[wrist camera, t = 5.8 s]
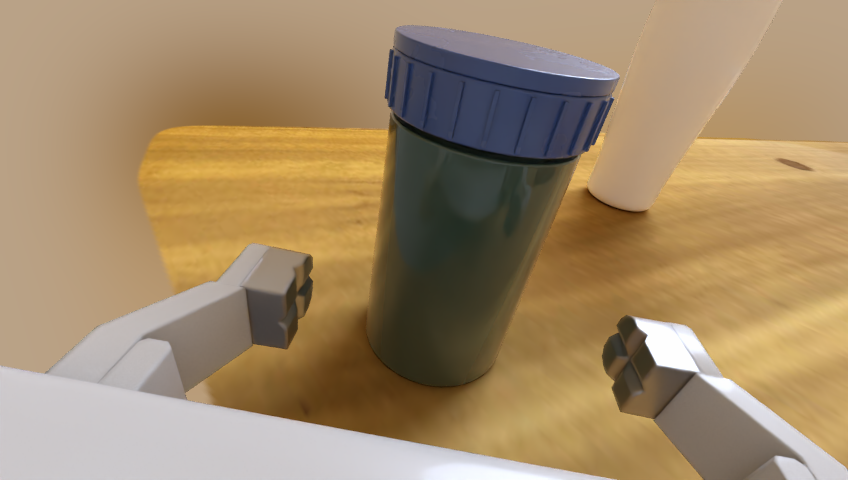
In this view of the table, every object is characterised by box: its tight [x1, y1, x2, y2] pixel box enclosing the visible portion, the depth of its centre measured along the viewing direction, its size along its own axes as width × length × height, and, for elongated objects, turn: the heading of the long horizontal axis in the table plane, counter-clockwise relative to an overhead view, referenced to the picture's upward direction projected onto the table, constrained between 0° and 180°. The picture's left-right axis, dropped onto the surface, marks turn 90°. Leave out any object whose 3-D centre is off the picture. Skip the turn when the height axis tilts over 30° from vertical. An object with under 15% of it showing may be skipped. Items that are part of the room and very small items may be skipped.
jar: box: [366, 110, 581, 387], centre depth 14 cm, size 6×6×11 cm
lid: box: [385, 25, 619, 159], centre depth 11 cm, size 6×6×2 cm
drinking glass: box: [587, 0, 783, 211], centre depth 28 cm, size 7×7×15 cm
